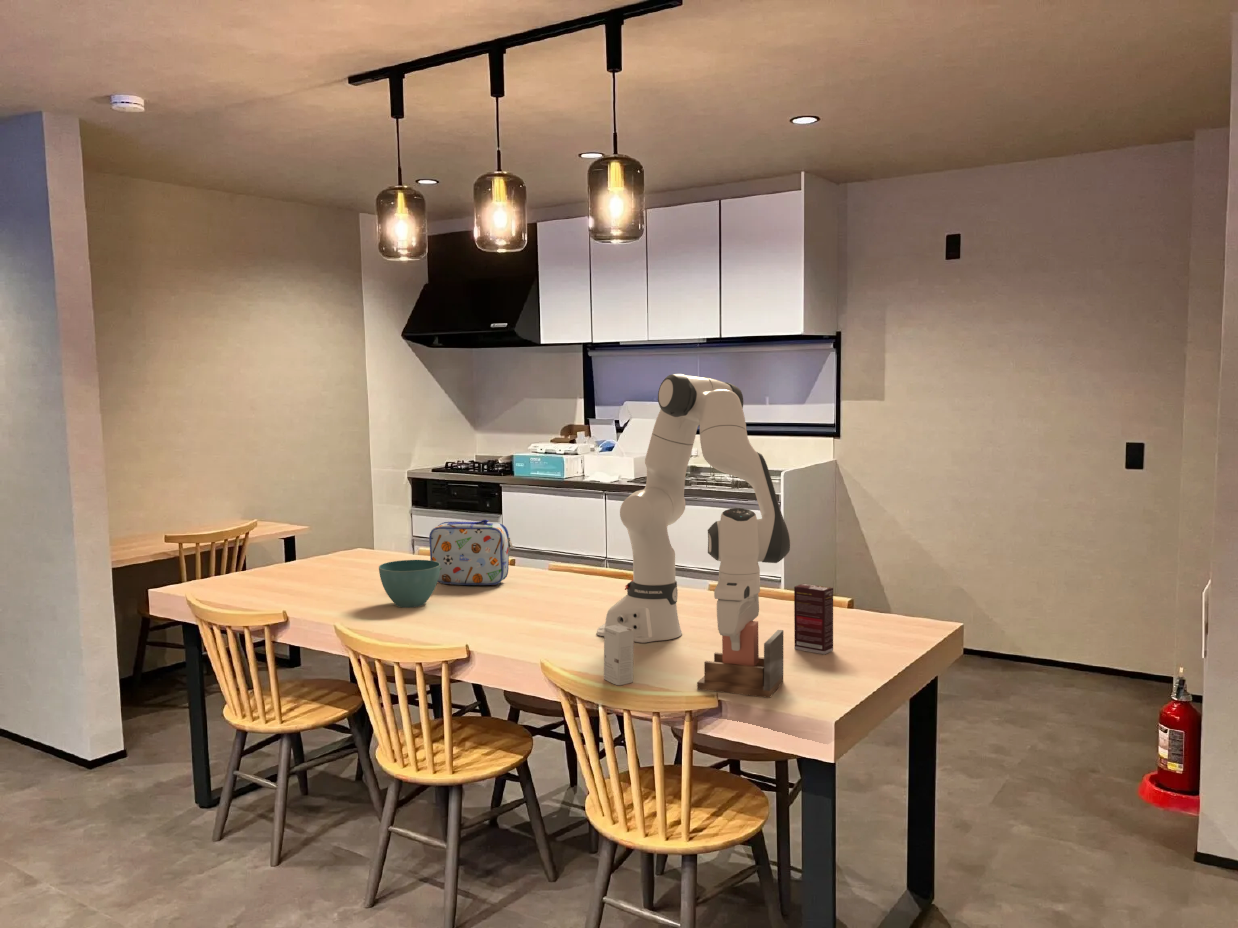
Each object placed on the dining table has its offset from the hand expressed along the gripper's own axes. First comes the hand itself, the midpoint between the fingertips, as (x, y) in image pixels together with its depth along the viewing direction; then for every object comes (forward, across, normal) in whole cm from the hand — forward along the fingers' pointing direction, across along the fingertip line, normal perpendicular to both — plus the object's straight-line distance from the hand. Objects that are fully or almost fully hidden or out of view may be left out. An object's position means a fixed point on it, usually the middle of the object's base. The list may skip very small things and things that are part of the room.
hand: (739, 646), depth 208 cm
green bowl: (+8, -40, -115) cm, 122 cm away
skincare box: (+9, +7, -26) cm, 28 cm away
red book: (+4, 0, 0) cm, 4 cm away
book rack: (+8, 0, 0) cm, 9 cm away
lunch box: (+8, -72, -113) cm, 135 cm away
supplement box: (+9, -33, +9) cm, 35 cm away
